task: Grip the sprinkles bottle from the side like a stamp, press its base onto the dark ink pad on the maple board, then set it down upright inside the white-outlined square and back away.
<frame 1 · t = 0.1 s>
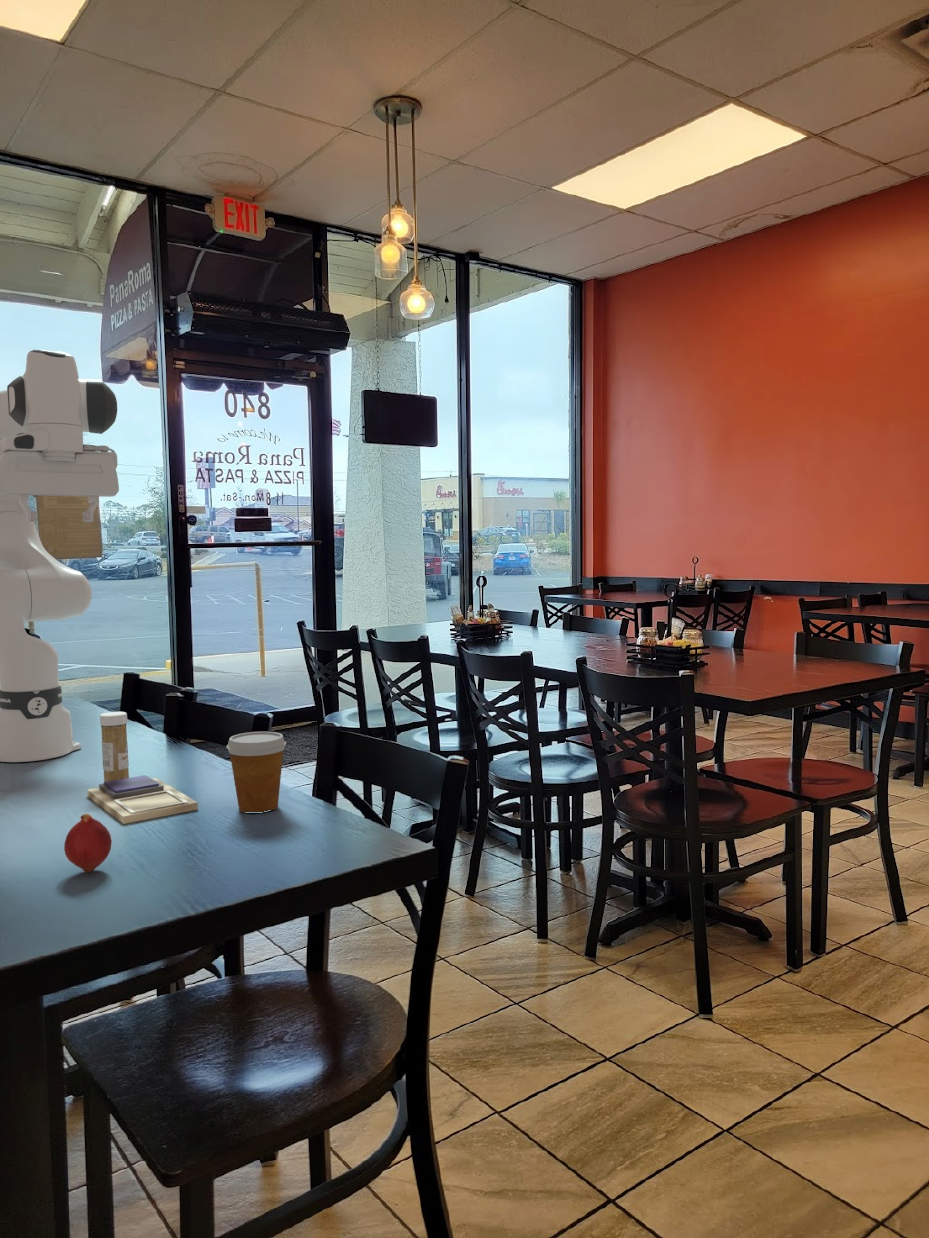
hand: (60, 521, 159), 48 cm above the table, tool pointing down, fingers open, 8 cm apart
onion: (89, 872, 120), on the table
stamp station: (141, 802, 152), on the table
disposable coffee cup: (258, 809, 148), on the table
sprinkles bottle: (116, 787, 163), on the table
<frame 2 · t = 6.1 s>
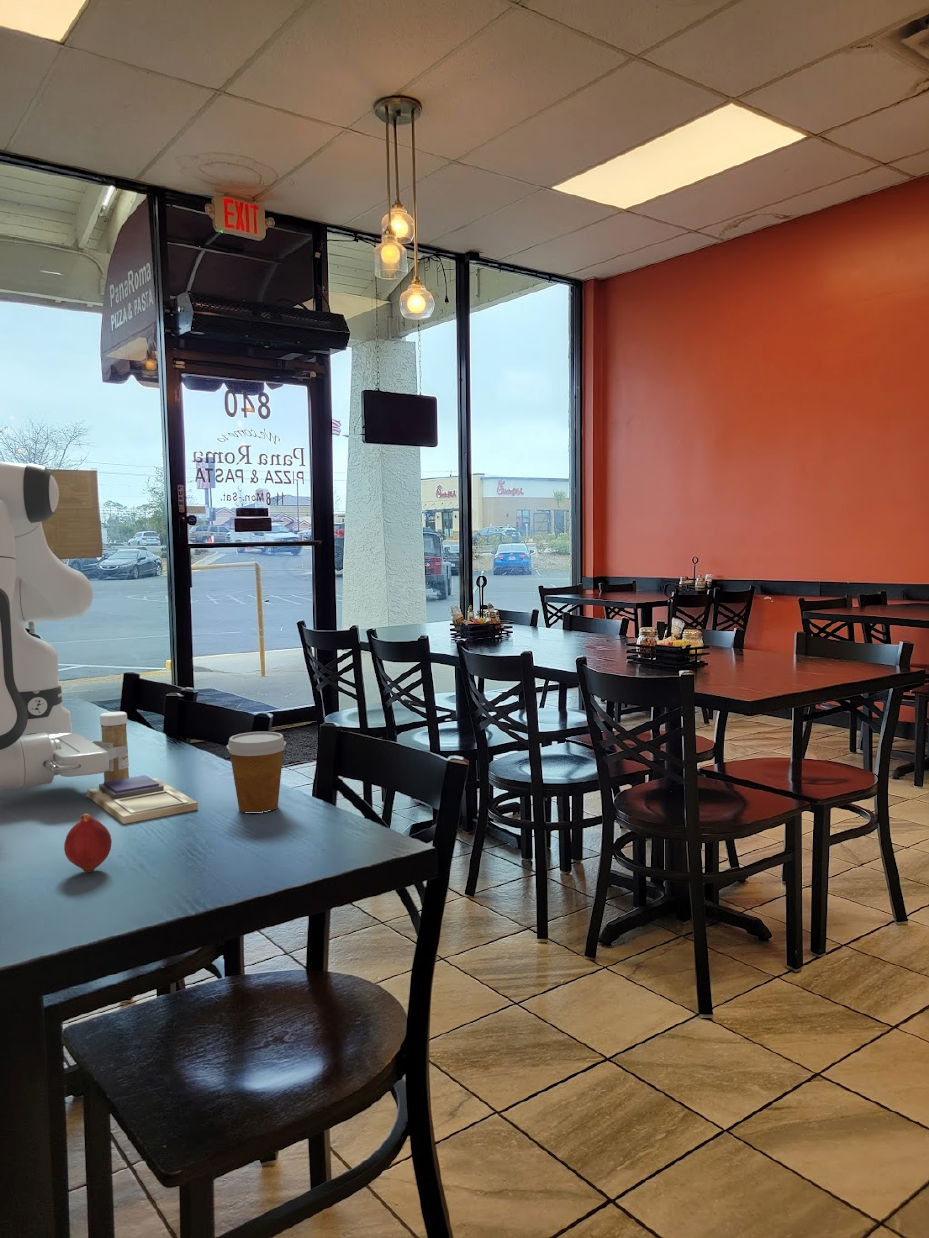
hand: (120, 747, 162), 7 cm above the table, tool horizontal, fingers closed on sprinkles bottle, 4 cm apart
sprinkles bottle: (116, 787, 163), on the table, touching gripper
everything else where it was.
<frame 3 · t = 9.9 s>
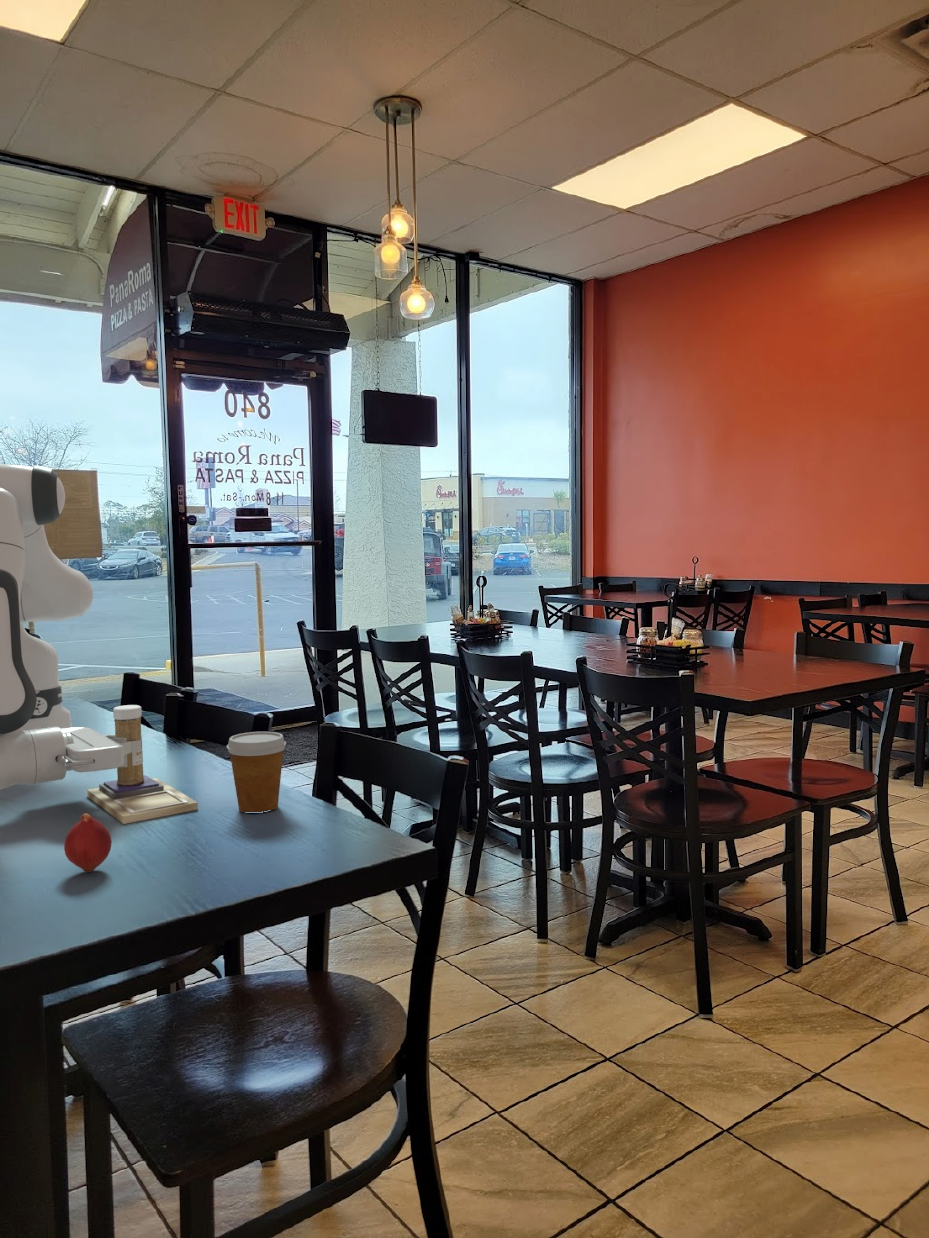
hand: (134, 741, 155), 9 cm above the table, tool horizontal, fingers closed on sprinkles bottle, 4 cm apart
sprinkles bottle: (130, 784, 156), point 2 cm above the table, touching gripper, stamp station
everything else where it was.
when the fingers open (9 cm above the table, at t = 14.3 s): sprinkles bottle stays where it is, resting on stamp station.
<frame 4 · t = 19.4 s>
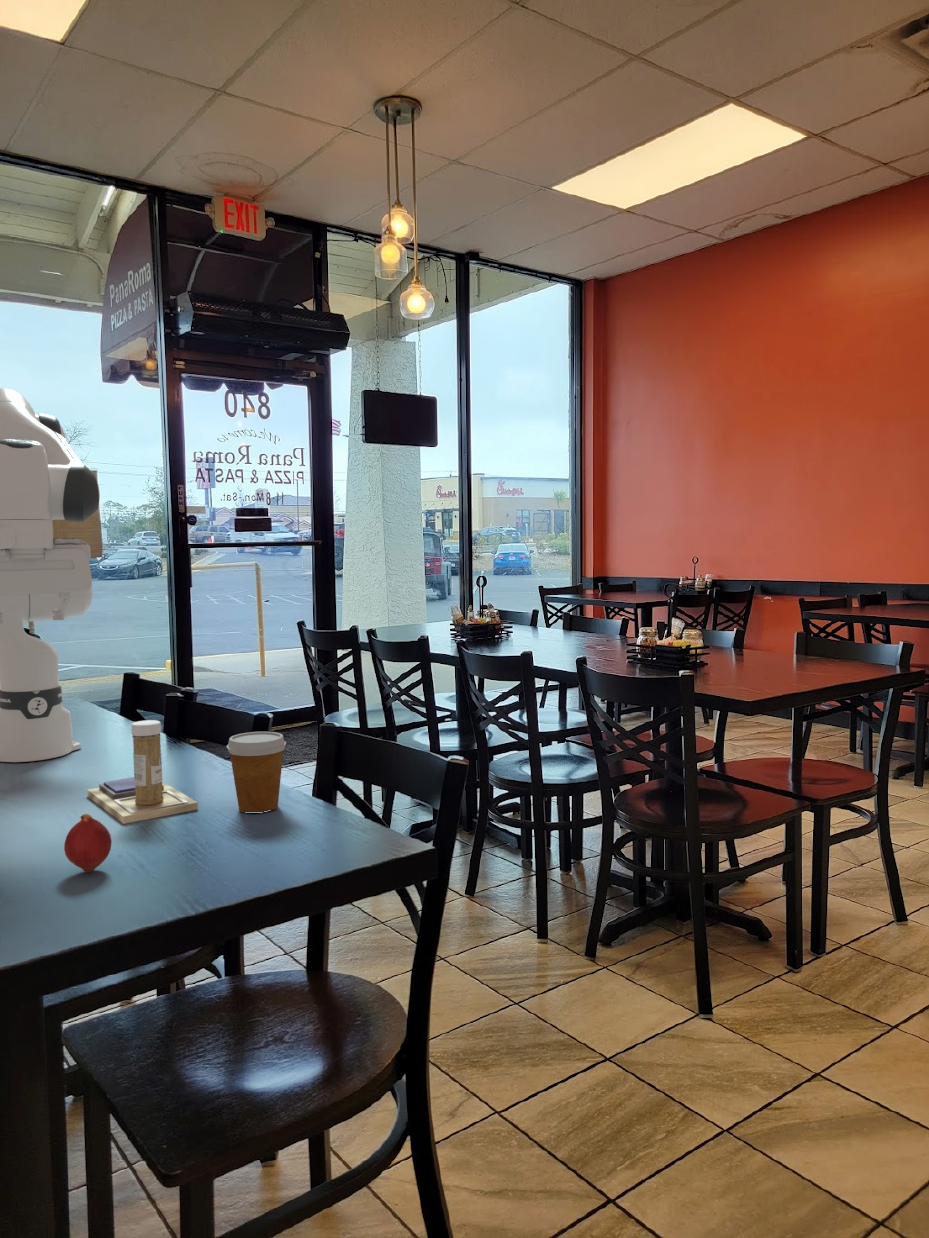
hand: (28, 621, 149), 31 cm above the table, tool pointing down, fingers open, 8 cm apart
sprinkles bottle: (149, 803, 148), point 1 cm above the table, touching stamp station
everything else where it was.
at the end: sprinkles bottle 0.3 cm from the target spot on the stamp station, point 1.0 cm above the stamp station's base; sprinkles bottle tilted 0°; the gripper is holding nothing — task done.
